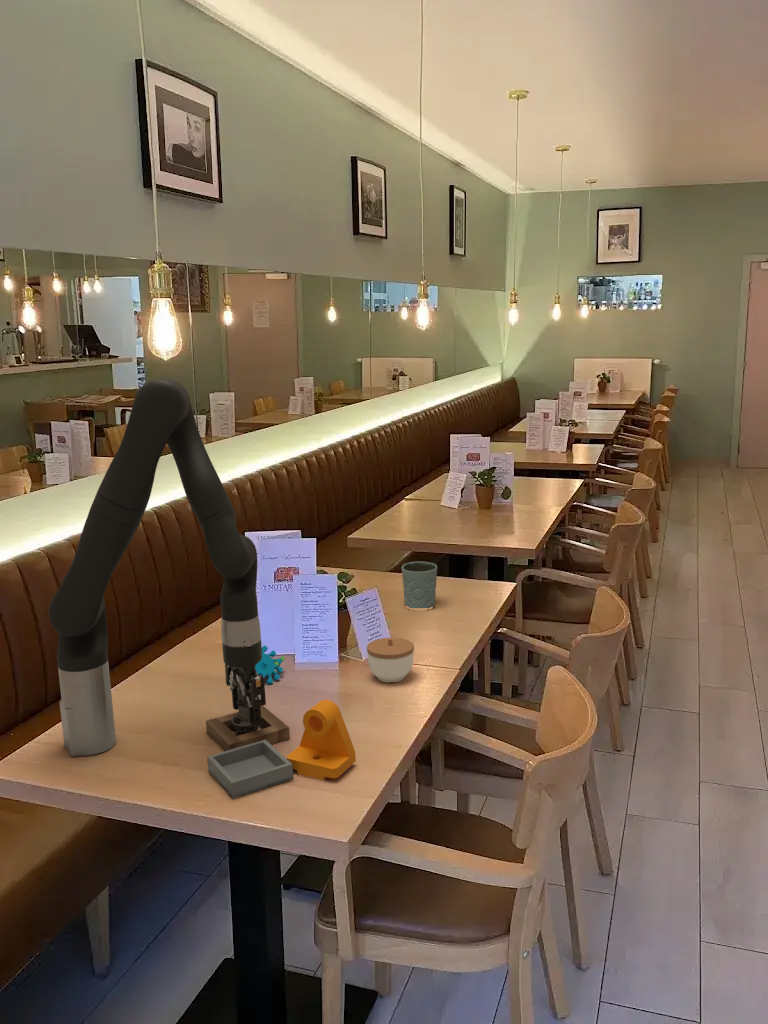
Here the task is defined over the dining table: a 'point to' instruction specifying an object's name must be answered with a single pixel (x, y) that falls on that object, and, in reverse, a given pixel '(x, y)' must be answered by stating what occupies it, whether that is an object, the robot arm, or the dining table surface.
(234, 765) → the grey tray
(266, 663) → the teal virus toy
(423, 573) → the green embossed pot
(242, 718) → the dark grey chess piece
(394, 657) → the lidded jar
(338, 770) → the bracket
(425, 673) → the dining table surface
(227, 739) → the frame
